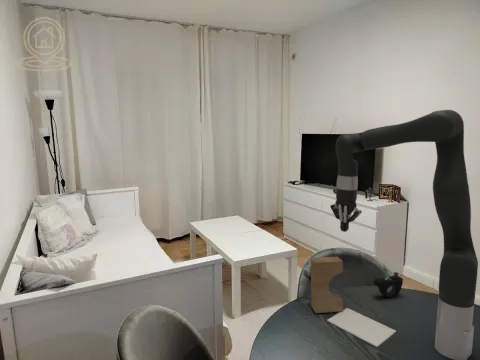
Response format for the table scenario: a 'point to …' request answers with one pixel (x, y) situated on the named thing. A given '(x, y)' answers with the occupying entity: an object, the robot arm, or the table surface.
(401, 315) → the table surface
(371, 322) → the mat
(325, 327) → the table surface
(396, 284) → the controller
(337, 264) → the decorative block
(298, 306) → the table surface
